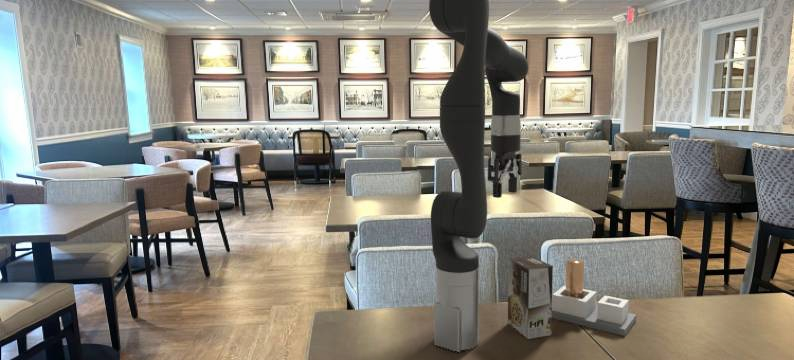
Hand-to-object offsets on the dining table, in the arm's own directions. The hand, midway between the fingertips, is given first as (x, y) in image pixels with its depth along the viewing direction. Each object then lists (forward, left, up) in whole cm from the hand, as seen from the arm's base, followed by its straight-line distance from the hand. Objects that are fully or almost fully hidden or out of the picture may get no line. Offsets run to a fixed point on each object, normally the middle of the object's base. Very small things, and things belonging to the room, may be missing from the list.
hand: (505, 194), depth 132 cm
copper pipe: (-1, -19, -26) cm, 33 cm away
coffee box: (-15, -14, -28) cm, 35 cm away
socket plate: (-1, -24, -28) cm, 37 cm away
